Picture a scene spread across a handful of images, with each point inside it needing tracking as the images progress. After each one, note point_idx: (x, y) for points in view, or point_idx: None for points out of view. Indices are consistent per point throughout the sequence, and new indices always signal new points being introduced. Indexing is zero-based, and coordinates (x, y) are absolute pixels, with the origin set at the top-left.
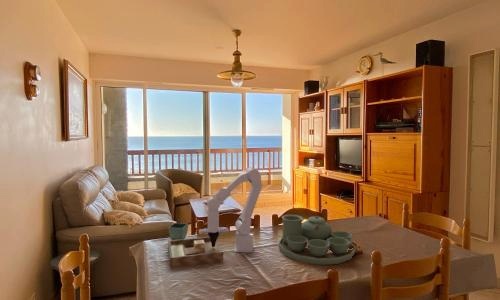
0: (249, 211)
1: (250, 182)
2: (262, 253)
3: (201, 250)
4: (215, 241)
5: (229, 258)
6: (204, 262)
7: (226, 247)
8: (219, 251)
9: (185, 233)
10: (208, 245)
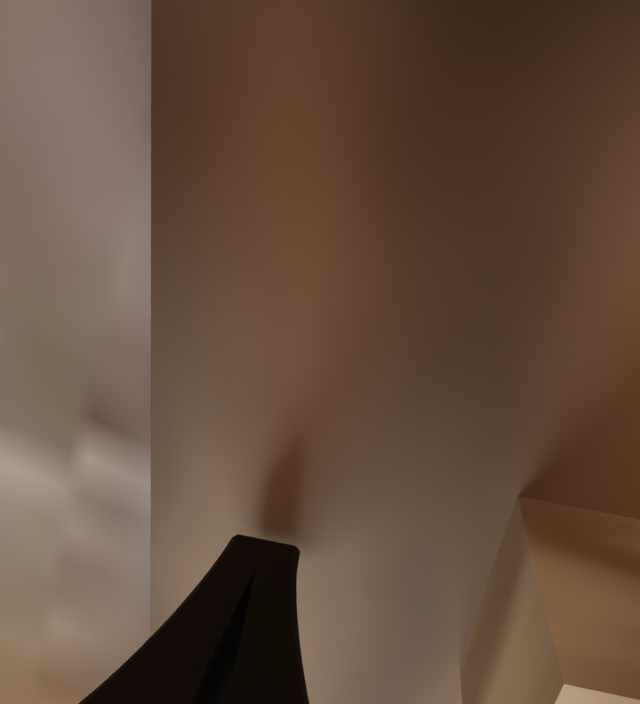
0: None
1: None
2: None
3: (612, 525)
4: (167, 642)
5: (19, 37)
6: None
7: (14, 563)
8: (179, 302)
9: None
10: (326, 686)
